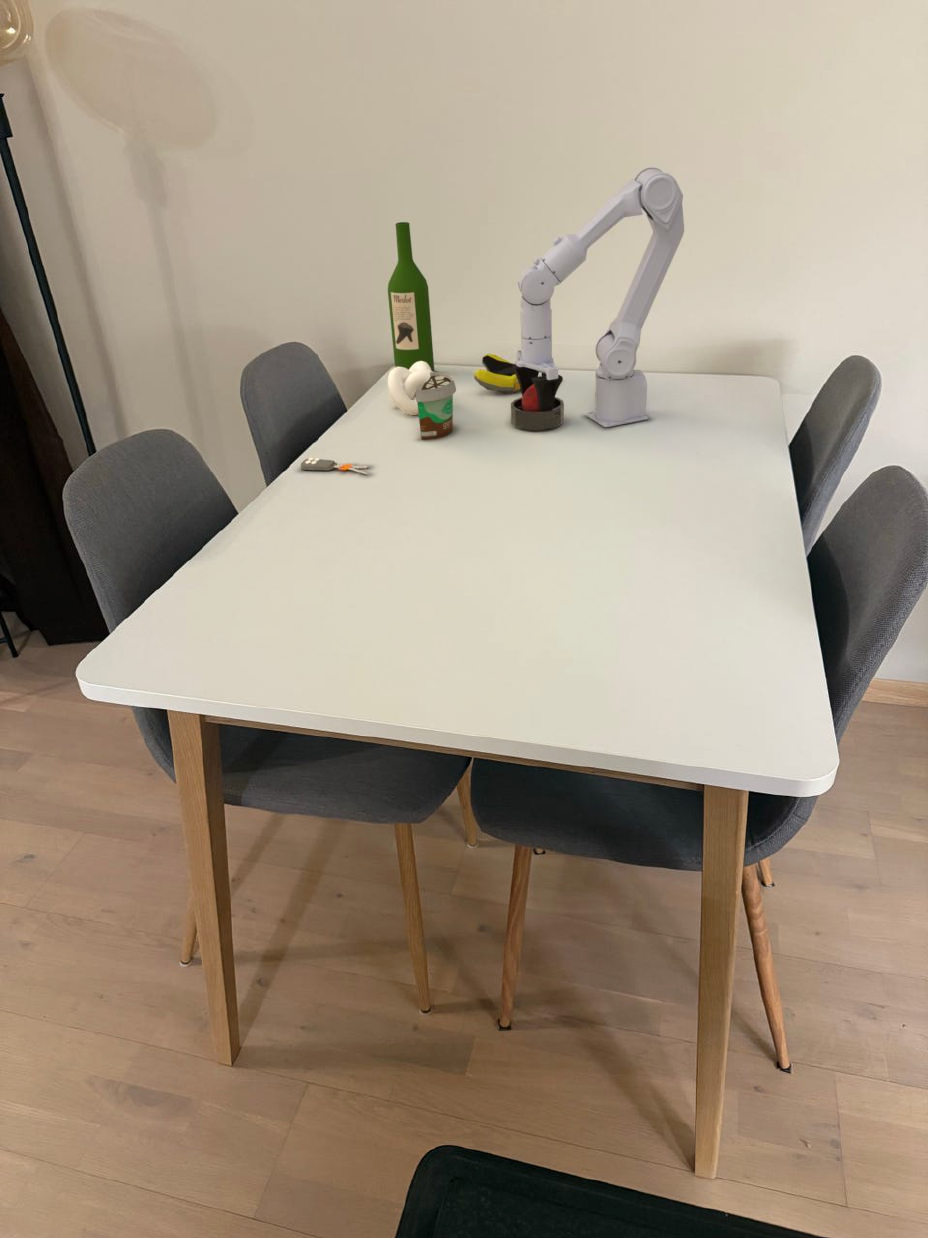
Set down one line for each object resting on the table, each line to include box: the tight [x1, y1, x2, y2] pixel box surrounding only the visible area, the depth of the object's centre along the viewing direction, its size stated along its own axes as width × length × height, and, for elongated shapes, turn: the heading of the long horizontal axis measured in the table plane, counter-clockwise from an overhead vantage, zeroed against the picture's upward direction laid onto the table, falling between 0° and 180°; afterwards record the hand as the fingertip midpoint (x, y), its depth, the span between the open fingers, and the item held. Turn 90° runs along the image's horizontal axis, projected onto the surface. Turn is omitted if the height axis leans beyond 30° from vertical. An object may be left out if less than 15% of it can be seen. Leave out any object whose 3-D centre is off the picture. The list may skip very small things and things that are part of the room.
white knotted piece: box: [387, 361, 433, 416], centre depth 186 cm, size 11×12×9 cm
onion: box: [521, 384, 540, 412], centre depth 174 cm, size 6×6×8 cm
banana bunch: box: [473, 353, 521, 395], centre depth 196 cm, size 15×6×10 cm
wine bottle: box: [387, 221, 435, 372], centre depth 199 cm, size 9×9×32 cm
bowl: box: [510, 396, 565, 432], centre depth 175 cm, size 10×10×4 cm
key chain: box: [300, 457, 369, 475], centre depth 162 cm, size 13×4×2 cm, turn 75°
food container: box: [416, 371, 457, 441], centre depth 173 cm, size 12×6×10 cm, turn 168°
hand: (537, 406), depth 175 cm, fingers open, 7 cm apart
